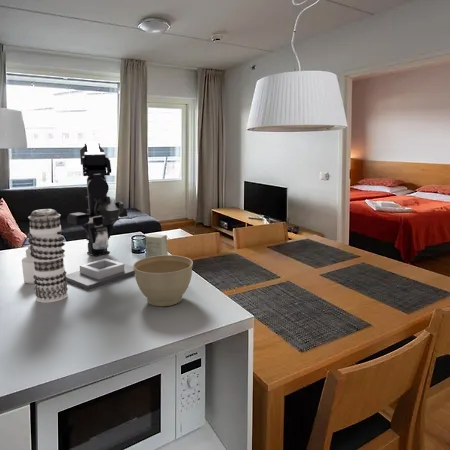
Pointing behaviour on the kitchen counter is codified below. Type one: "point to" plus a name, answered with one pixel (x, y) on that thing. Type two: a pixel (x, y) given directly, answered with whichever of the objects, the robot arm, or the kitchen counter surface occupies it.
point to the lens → (100, 237)
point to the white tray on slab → (99, 273)
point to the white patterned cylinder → (47, 255)
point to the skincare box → (156, 245)
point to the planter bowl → (163, 278)
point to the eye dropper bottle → (28, 267)
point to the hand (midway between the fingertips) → (100, 241)
